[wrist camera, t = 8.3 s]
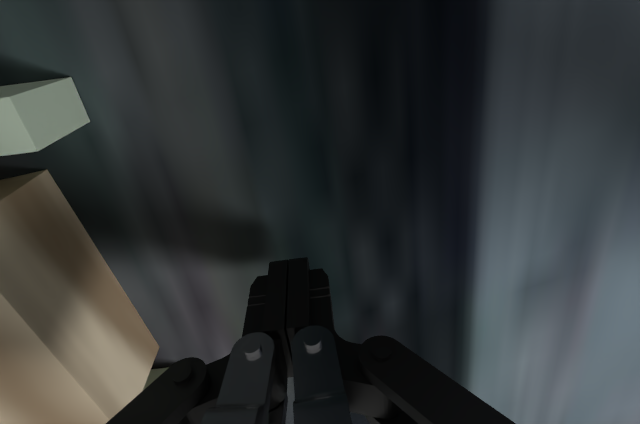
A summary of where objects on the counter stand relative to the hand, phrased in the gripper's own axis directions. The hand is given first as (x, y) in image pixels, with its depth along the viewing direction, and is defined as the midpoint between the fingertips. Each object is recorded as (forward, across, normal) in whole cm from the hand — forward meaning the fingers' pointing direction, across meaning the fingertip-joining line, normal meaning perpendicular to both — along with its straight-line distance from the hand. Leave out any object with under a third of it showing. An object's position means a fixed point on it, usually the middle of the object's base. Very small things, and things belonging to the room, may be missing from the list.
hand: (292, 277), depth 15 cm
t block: (+2, +12, 0) cm, 12 cm away
